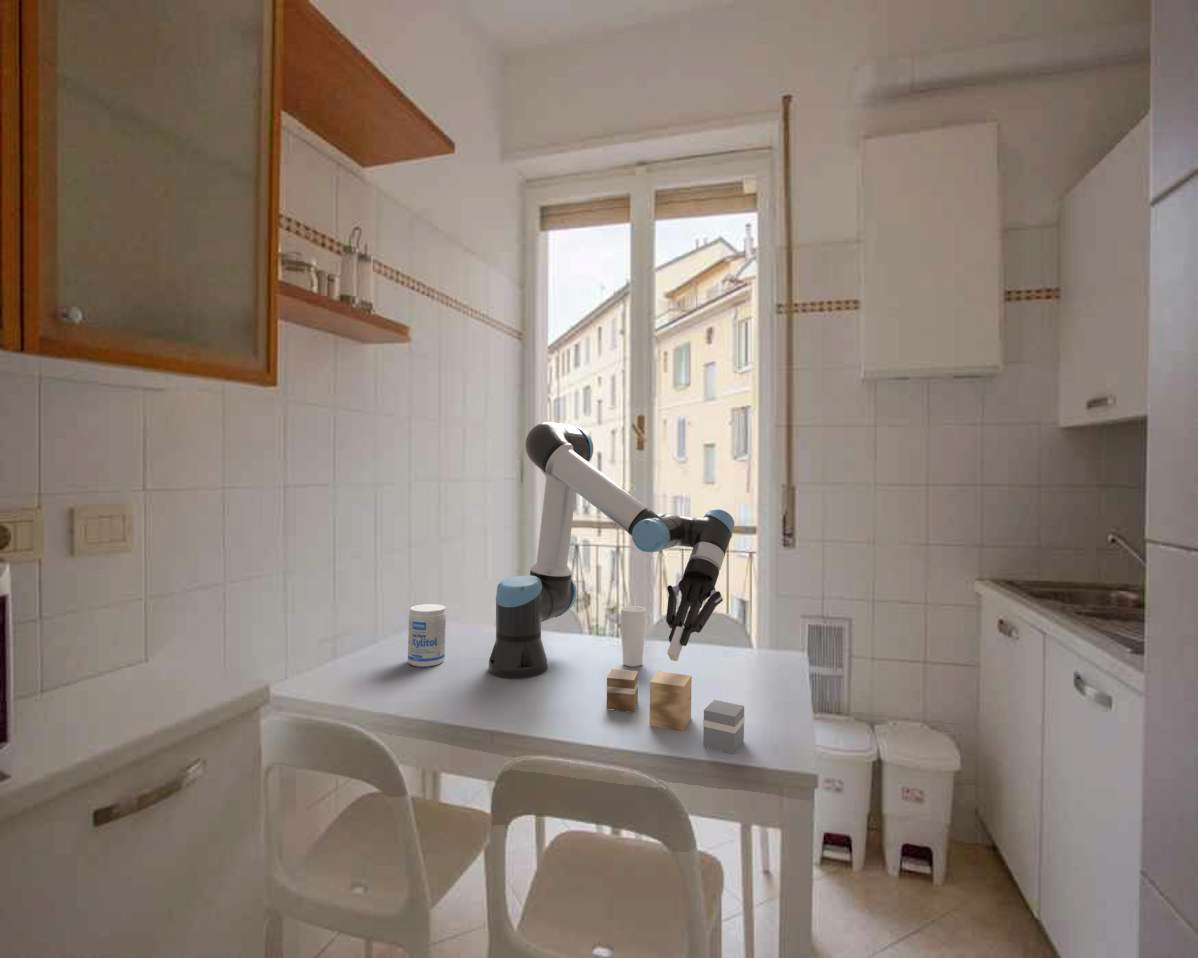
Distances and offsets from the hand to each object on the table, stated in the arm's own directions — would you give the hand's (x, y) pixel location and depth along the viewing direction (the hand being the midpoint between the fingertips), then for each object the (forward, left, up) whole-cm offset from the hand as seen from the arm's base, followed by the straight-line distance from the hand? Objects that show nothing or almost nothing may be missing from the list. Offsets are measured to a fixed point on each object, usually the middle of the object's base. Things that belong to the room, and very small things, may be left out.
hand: (672, 657), depth 124 cm
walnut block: (-12, +4, -13) cm, 18 cm away
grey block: (+12, -6, -13) cm, 19 cm away
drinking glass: (-19, +32, -14) cm, 39 cm away
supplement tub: (-70, +11, -14) cm, 72 cm away
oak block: (0, 0, -13) cm, 13 cm away
